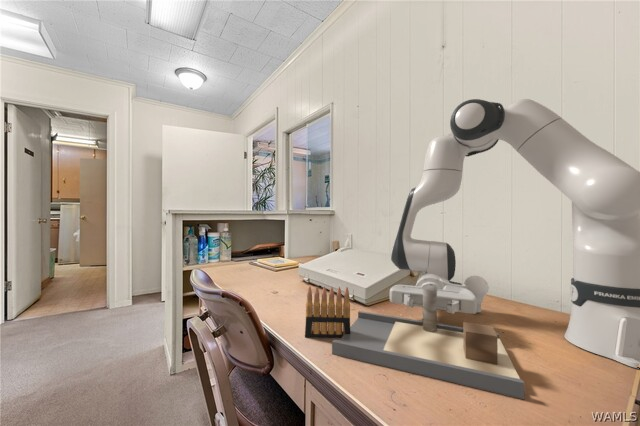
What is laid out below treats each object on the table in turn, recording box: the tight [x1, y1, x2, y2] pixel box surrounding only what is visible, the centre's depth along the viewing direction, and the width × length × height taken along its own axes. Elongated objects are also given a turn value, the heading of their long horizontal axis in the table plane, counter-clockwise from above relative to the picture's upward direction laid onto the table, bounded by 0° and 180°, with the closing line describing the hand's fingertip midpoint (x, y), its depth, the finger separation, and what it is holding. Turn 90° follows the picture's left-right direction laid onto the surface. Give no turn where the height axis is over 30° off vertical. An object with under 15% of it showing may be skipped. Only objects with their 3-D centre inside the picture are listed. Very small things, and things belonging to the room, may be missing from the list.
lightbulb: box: [463, 275, 490, 314], centre depth 79 cm, size 6×6×11 cm
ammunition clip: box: [304, 285, 351, 339], centre depth 63 cm, size 11×2×12 cm, turn 89°
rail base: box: [331, 310, 525, 400], centre depth 57 cm, size 32×20×2 cm, turn 66°
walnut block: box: [462, 321, 498, 365], centre depth 51 cm, size 5×5×5 cm
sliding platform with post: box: [383, 285, 521, 379], centre depth 55 cm, size 22×16×11 cm
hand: (429, 307), depth 61 cm, fingers open, 7 cm apart
